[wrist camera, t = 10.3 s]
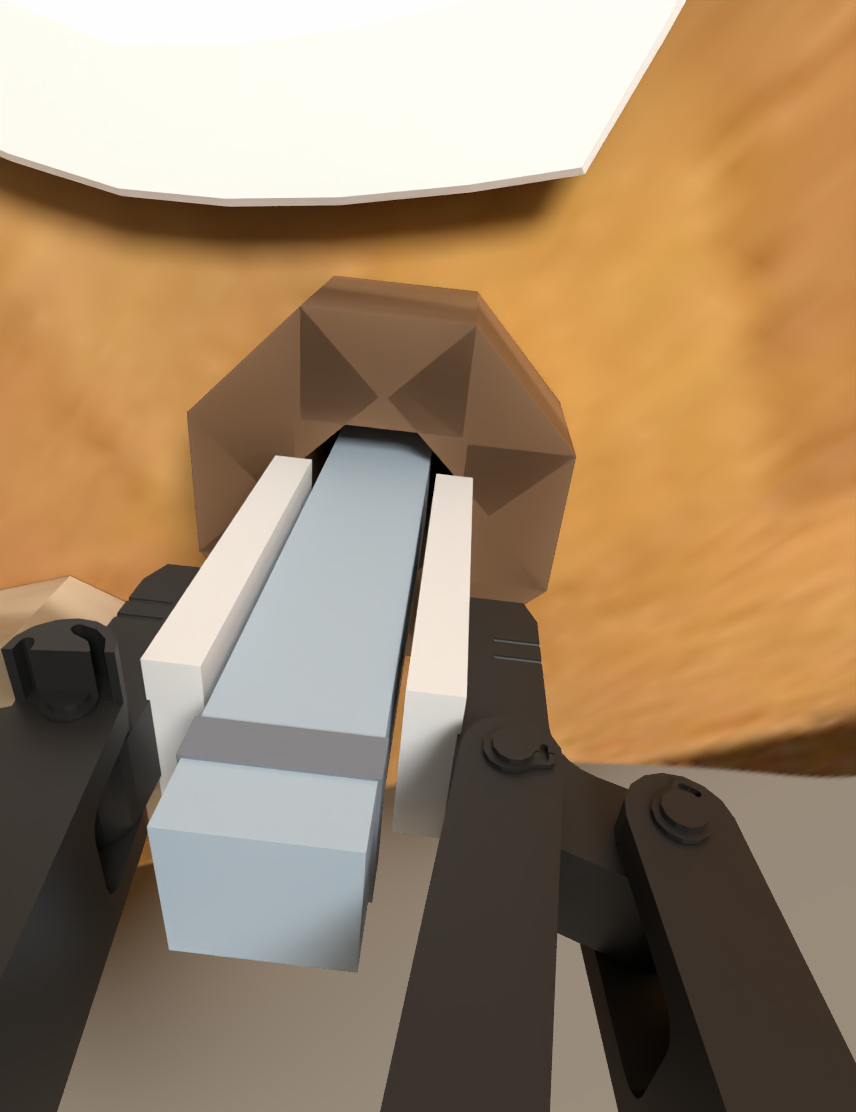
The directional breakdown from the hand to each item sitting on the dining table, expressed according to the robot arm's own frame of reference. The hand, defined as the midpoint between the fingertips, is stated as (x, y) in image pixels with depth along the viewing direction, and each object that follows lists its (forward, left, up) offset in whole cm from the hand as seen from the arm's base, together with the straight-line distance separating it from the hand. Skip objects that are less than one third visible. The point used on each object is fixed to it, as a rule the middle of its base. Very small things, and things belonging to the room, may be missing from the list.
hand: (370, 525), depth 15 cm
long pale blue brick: (0, 0, -4) cm, 4 cm away
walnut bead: (0, 0, -5) cm, 5 cm away
